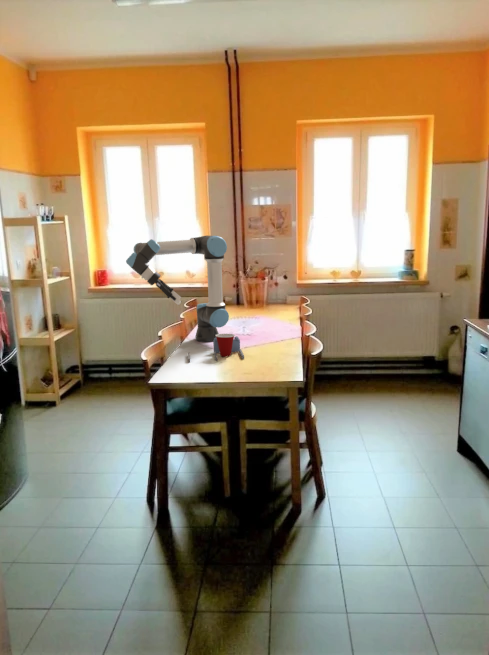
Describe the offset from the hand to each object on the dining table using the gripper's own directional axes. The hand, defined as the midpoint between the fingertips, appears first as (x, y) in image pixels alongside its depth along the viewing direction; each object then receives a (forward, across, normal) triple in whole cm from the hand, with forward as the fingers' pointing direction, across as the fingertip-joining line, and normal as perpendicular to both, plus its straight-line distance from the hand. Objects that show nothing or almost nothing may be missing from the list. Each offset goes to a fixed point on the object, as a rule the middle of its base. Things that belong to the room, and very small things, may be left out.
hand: (180, 301), depth 281 cm
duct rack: (+33, +12, -8) cm, 37 cm away
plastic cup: (+38, +11, -4) cm, 40 cm away
